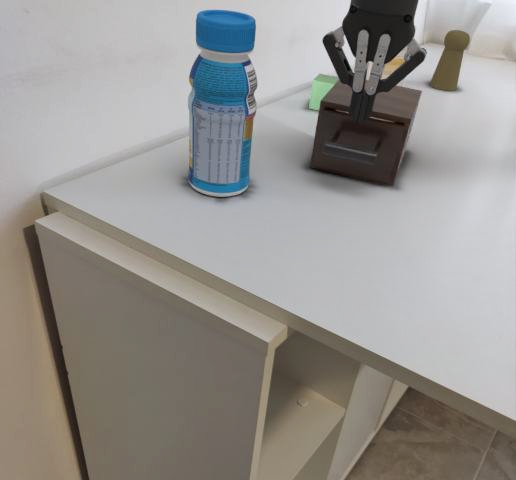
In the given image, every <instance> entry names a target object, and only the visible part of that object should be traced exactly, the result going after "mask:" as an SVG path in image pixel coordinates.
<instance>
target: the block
mask: <svg viewBox="0 0 516 480" xmlns="http://www.w3.org/2000/svg"><path fill="white" fill-rule="evenodd" d="M338 80H339V77H338V76H336V75H335V76H333V75H330V74H329V75H328V74H323V73H318V74H317V76H316V77H314V79H313V80H312V83H311V92H310V97H309V103H308V104H309V105H308V109H309V110H314V111H318V112H319V108H320V102H321V100H322V99H323V97H324V96H325V95H326V94H327V93H328V92H329V90H330V89H331V88H332V87H333V86H334V85H335V83H336V82H337V81H338Z"/></svg>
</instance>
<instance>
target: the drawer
mask: <svg viewBox="0 0 516 480" xmlns="http://www.w3.org/2000/svg"><path fill="white" fill-rule="evenodd" d="M404 127H405V125H404V124H403V123H399V122H394V121H389V120H384V119H379V118H374V117H370V118H369V119H368V121H366V120H365V121H364V123H363V125H362V124H357V123H353V122H352V117H349V113H348V112H345V111H341V110H336V109H331V108H330V109H325V108H324V109H323V110H322V112H321V118H320V124H319V130H318V136H317V142H316V148H315V154H314V160H313V165H314V166H318V167H322V168H327V169H331V170H336V171H340V172H344V173H349V174H353V175H357V176H362V177H366V178H371V179H375V180H379V181H384V182H388V183H389V182H390V179H391V175H392V172H393V168H394V164H395V161H396V157H397V153H398V150H399V146H400V142H401V139H402V135H403V131H404Z"/></svg>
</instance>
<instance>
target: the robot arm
mask: <svg viewBox="0 0 516 480" xmlns="http://www.w3.org/2000/svg"><path fill="white" fill-rule="evenodd" d="M419 1H420V0H350V4H349V8H348V11H347V13H346V15H345V16H344V18H343V20H342V23H341V25H340V26H339V27H337V28H336V29H334V30H333V31H329V32H327V33H326V34H324V36H323V37H322V41H321V43H322V44H323V48H324V49H325V50H326V53H327V56H328V58H329V60H330V61H331V62H330V63H331V65H332V67H333V69H334V71H335V73H336V75H337V77H339V80H340V82H341V83H342V84H347V85H348V86H350V87H351V88H352V97H351V102H350V107H349V112H348V113H349V117H352V122H353V123H357V124H362V125H363V123H364V121H365V120H366V121H368V119H369V118H370V116H371V114H372V111H373V106H374V102H375V98H376V94H378V93H380V92H389V91H390V90H391V89H392V88H394V87H395V86H396V85H397V84H398V83H399V82H400V81H402V80H403V79H404V80H405V78H407V77H408V76H409V75H410V74H411V73H412V72H413V71H415V70H416V69H417V68H418V67H419V66H420V65H421V64H422V63H424V61H425V59H426V57H427V54H428V52H427V49H426V48H424V47H421V45H420V44H419V43H418V42H417V40H416V39H415V34H416V31H415V27H414V26H415V16H416V12H417V10H418V9H417V8H418V5H419ZM345 39H346V41H345ZM345 42H347V44H348V46H349V50H350V52H351V55H352V56H353V57H354V58H355V59H354V68H353V69H354V72H353V70H352V67H351V64H350V62H349V60H348V58H347V55H346V53H345V51H344V49H343V48H344V46H345ZM406 46H407V52H406V53H405V55H404V61H405V62H404V63H403V64H402V65H401V66H400V67H398V68H397V69H396V70H395V71H394V72H393V73H392V74H391V75H389V76H388V77H387V78H386V79H381V77H382V73H383V71H384V68H385V65H386V64H387V63H389V62H390V61H392V60H393V59H394V58H395V57H396V56H397V55H398V54H399V53H400V52H401V51H402V50H403V49H404V48H405V47H406ZM369 61H371V62H373V65H372V69H371V72H370V77H369V80H368V84H367V87H366V90H365V89H364V88H365V84H366V77H367V70H368V66H369ZM404 80H403V81H404Z"/></svg>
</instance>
